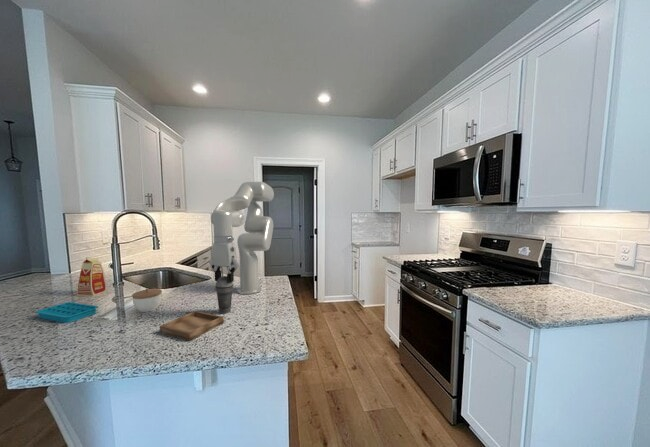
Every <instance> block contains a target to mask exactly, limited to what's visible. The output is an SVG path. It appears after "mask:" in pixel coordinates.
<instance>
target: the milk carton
mask: <svg viewBox="0 0 650 447" xmlns="http://www.w3.org/2000/svg"><path fill="white" fill-rule="evenodd" d="M77 283H78V284H77V291H76V296H77V297H95V296H98V295H101V294H103V293H106V292H107V291H108V289H107V281H106V276H105V271H104V267H103V264H102V262H101V261H100V260H99V257H87V256H86V257H85V260H84V261H83V262H82V265H81V269H80V272H79V278H78V282H77Z"/></svg>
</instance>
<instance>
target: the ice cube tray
mask: <svg viewBox="0 0 650 447" xmlns="http://www.w3.org/2000/svg"><path fill="white" fill-rule="evenodd" d="M99 307H100V306H99V305H91V304H86V303H78V302H72V301H69V302H63V303H60V304H56V305H53V306H49V307H46V308H43V309H42V308H41V309H38V310H36V311H35V312H34V313H35V314H38V318H39V319H44V320H49V321H54V322H60V323H73V322H75V321H78V320H80V319H84V318H87V317H89V316H92V315H95V314H96V310H97V309H99Z"/></svg>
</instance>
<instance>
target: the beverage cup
mask: <svg viewBox="0 0 650 447" xmlns="http://www.w3.org/2000/svg"><path fill="white" fill-rule="evenodd" d="M220 271H221V276H222V277H220V278H219V279H218V280H217V281H215V282H216V283H215V290H216V294H217V295H216V296H217V305H218V311H219V314H221V315H225V314H229V313H231V310H232V299H233V298H232V297H233V288H234V281H233V282H230V283H227V275H224V270H223V267H221V269H220Z"/></svg>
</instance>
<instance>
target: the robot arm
mask: <svg viewBox="0 0 650 447" xmlns="http://www.w3.org/2000/svg"><path fill="white" fill-rule="evenodd" d="M274 192H275V191H274V189H273V187H271V185H268V184H267V183H266V182H264V181H245V182H242V183H241V185H240V186H239V187H238V189H237V191H236V192H235V194H234V195H233V196H230V197H229V198H227V199H224V200H223V201H221V202H220V203H218V204H217V206H216V207H215V208H214V210H213V212H211V213H212V214H211V216H210V222H211V224H212V225H213V226H212V227H213V244H212V250H211V259H210V261H209V265H210V266H211V268H212V270H213V273H214V281H215V282H217V280H218V279H219V278H220V277H222V271H221V267H222V268H226V271H227V274H226V276H227V283H230V282H233V283H234V281H235V277H234V273H235V272H236V270H237V269H238V268H239V284H240V285H239V286H240V287H239V288H237V290H236V291H237V293H238V294H239V295H252V294H253V295H254V294H257V293H259V292H261V291H262V287H261V286H260V285H261V284H263V283H264V280H263V279H260V280H259V259H258V256H257V254H256V253H255V252H266V251H269V250H270V249H271V248H270V247H271V243H272V239H273V238H272V237H273V232H274V221H273V218H272V217H271V216H265V215H263V213H264V211H263V208H262V207H261V206H260V205H259V204H258V202H259V203H260V202H272V201H273V199H274V197H275V193H274ZM244 209H247V212H246V216H245V215H244V213H243V212H242V211H241V210H244ZM242 225H244V226H243V227H244V230H245V233H241V234H240V235H239V236H238V237H237V243H236V244H237V247H238V248H237V249H238V254H239V263H238V258H237V257H238V256H237V249H236V245H235V242H234V240H235V238H234V237H233V235H234V234H233V228H240V227H241V226H242Z"/></svg>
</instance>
